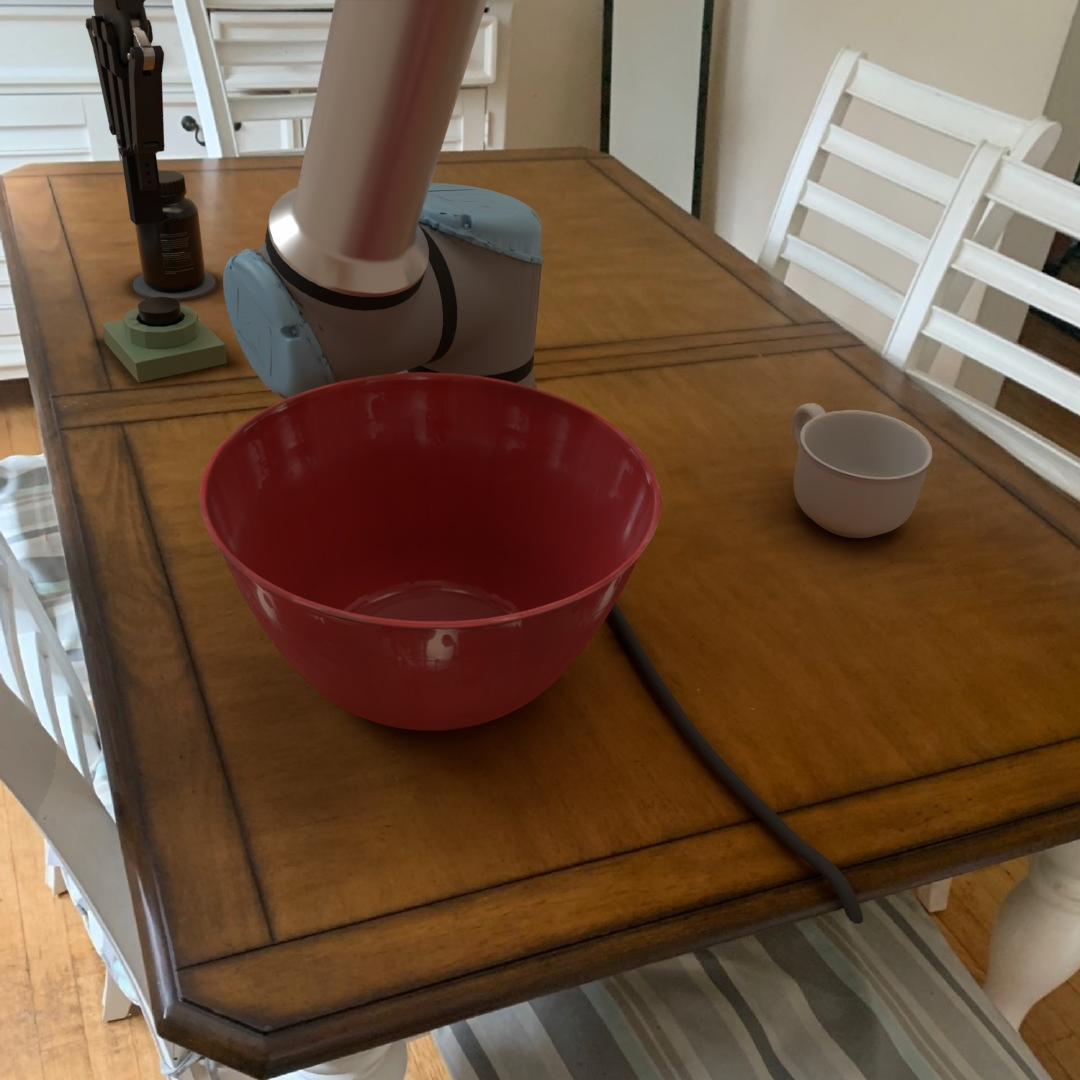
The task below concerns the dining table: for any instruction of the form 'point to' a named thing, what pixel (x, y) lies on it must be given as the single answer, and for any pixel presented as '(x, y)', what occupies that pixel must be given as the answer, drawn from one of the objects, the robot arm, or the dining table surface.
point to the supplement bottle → (172, 240)
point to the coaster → (193, 293)
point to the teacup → (857, 469)
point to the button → (159, 312)
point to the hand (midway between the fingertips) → (147, 220)
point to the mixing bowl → (429, 539)
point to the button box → (164, 346)
